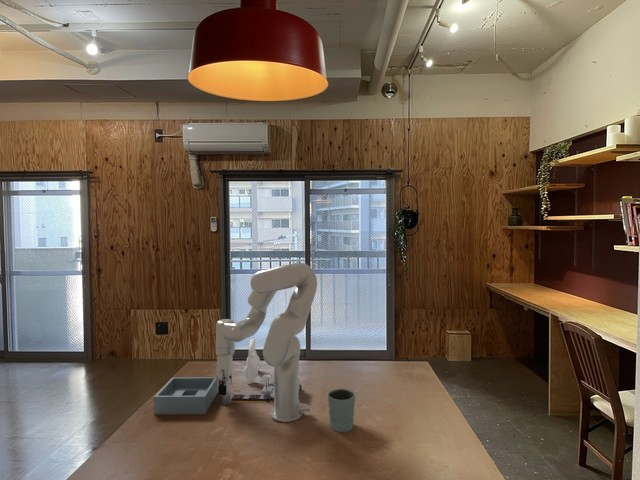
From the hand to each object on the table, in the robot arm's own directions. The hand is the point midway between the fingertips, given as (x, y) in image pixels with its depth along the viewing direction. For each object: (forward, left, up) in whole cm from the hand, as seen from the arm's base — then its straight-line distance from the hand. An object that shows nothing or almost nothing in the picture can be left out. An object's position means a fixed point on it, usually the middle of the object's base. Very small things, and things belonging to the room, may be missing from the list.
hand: (225, 389), depth 168 cm
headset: (-6, -29, -6) cm, 30 cm away
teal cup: (-47, +20, -6) cm, 52 cm away
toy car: (-22, -8, -6) cm, 24 cm away
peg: (0, 0, -5) cm, 5 cm away
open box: (+16, 0, -5) cm, 16 cm away
